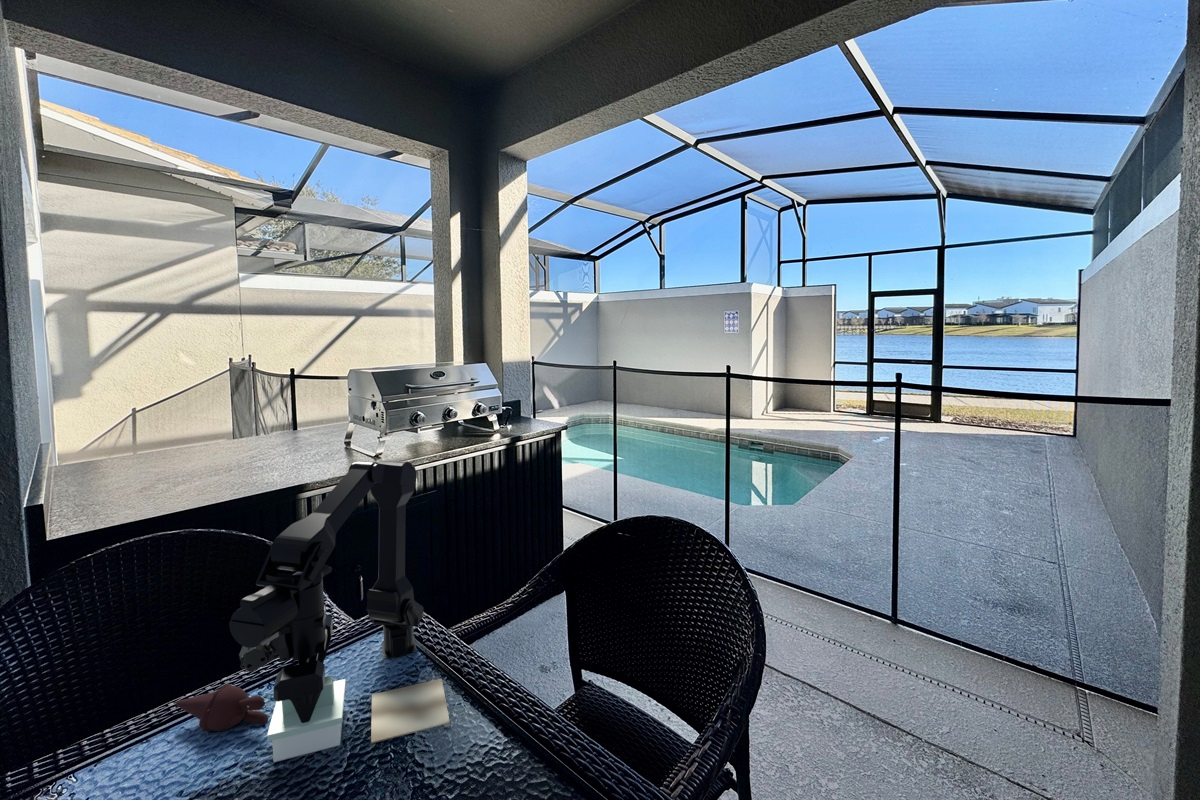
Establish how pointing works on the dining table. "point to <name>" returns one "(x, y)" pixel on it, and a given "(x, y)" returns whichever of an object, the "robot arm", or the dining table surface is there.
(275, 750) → the box
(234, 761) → the dining table surface
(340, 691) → the lid
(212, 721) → the brown gnome figurine
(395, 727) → the board
